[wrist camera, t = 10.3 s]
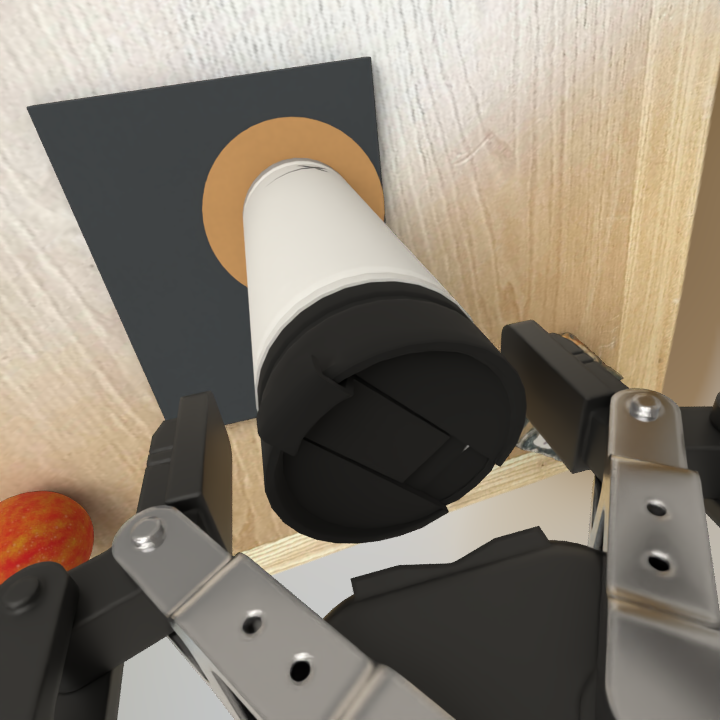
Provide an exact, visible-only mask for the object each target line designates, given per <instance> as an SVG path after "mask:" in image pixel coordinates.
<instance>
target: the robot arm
mask: <svg viewBox="0 0 720 720" xmlns="http://www.w3.org/2000/svg"><path fill="white" fill-rule="evenodd" d="M501 354H502V355H503V356H504V357H505V358H506V359H507V361H508V362H509V363H510V364H511V365H512V366H513V367H514V368H515V369H516V371H517V372H518V374H519V376H520V378H521V381H522V383H523V385H524V387H525V394H526V402H527V409H526V418H527V419H528V420H529V421H530V423H531V424H532V425H533V426H534V428H535V429H536V430H537V431H538V432H539V434H540V435H541V436H542V437H543V439H544V440H545V441H546V442H547V443H548V445H549V446H550V447H551V448H552V450H553V451H554V452H555V453H556V454H557V456H558V457H559V458H560V459H561V461H562V462H563V463H564V464H565V465H566V467H567V468H568V469H569V470H570V472H572V474H574V473H577V472H581V471H585V470H589V469H590V470H592V472H593V473H594V474H595V476H594V480H593V487H592V499H591V512H590V524H589V537H588V546H585V545H581V544H578V543H572V542H567V541H557V540H548V539H547V537H546V536H545V534H544V533H543V531H542V530H541V528H540V527H539V526H537V527H533V528H530V529H526V530H523V531H519V532H515V533H512V534H509V535H505V536H501V537H498V538H494V539H493V540H491V541H490V542H488V543H486V544H484V545H482V546H481V547H479V548H477V549H476V550H474V551H472V552H471V553H469V554H467V555H466V556H464V557H462V558H461V559H459V560H457V561H455V562H453V563H447V564H419V565H398V566H394V567H390V568H387V569H383V570H380V571H376V572H373V573H369V574H365V575H362V576H358V577H355V578H351V582H352V587H353V591H354V594H353V595H352V596H350V597H348V598H347V599H345V600H344V601H342V602H341V603H340V604H338V605H337V606H336V607H335V608H333V609H332V610H331V611H330V612H329V613H328V614H327V615H326V616H325V617H324V618H323V619H322V618H321V617H320V616H319V615H318V614H316V613H315V612H314V611H313V610H311V609H310V608H309V607H308V606H307V605H306V604H304V603H303V602H302V601H301V600H300V599H298V598H297V597H296V596H295V595H293V594H292V593H291V592H290V591H289V590H288V589H286V588H285V587H284V586H283V585H282V584H280V583H279V582H278V581H277V580H276V579H274V578H273V577H272V576H271V575H270V574H268V573H267V572H266V571H265V570H264V569H262V568H261V567H260V566H259V565H258V564H256V563H255V562H254V561H253V560H252V559H250V558H249V557H248V556H246V555H245V554H243V553H240V552H239V553H237V554H236V555H235V556H232V451H231V445H230V441H229V437H228V434H227V431H226V428H225V426H224V423H223V420H222V417H221V414H220V412H219V409H218V406H217V403H216V401H215V398H214V395H213V393H212V392H211V391H206V392H201V393H197V394H192V395H188V396H183V397H181V398H180V402H179V409H178V415H177V418H174V419H170V420H165V421H163V422H162V424H161V425H160V427H159V428H158V429H157V431H156V432H155V433H154V435H153V436H152V441H151V445H150V450H149V453H150V455H148V460H147V468H146V469H145V474H144V479H143V484H142V488H141V493H140V498H139V503H138V507H137V512H136V514H135V515H134V516H132V517H131V518H130V519H129V520H127V521H126V522H125V523H124V524H123V525H122V526H121V528H120V529H119V530H118V532H117V533H116V535H115V537H114V540H113V543H112V547H111V548H109V549H108V550H107V551H105V552H103V553H101V554H100V555H98V556H96V557H94V558H92V559H90V560H88V561H86V562H84V563H82V564H80V565H79V566H77V567H75V568H73V569H71V570H69V571H66V570H65V568H64V567H63V566H62V565H61V564H59V563H57V562H52V561H46V562H39V563H35V564H33V565H30V566H27V567H25V568H23V569H21V570H20V571H18V572H16V573H15V574H13V575H12V576H11V577H9V578H8V579H7V580H5V581H4V582H3V583H2V584H1V585H0V720H117V715H118V707H119V699H120V690H121V683H122V674H123V666H124V662H125V661H127V660H128V659H130V658H132V657H133V656H135V655H136V654H138V653H140V652H141V651H143V650H144V649H146V648H148V647H150V646H151V645H153V644H154V643H156V642H158V641H159V640H161V639H163V638H164V637H167V638H168V639H169V640H170V641H171V642H172V644H174V646H175V647H176V648H177V649H178V651H179V652H180V653H181V654H182V655H183V656H184V657H185V659H186V660H187V661H188V662H189V664H190V665H191V666H192V667H193V668H194V669H195V671H196V672H197V673H198V674H199V675H200V676H201V677H202V679H203V680H204V681H205V682H206V683H207V685H208V686H209V687H210V688H211V689H212V691H213V692H214V693H215V694H216V696H217V697H218V698H219V699H220V701H221V702H222V703H223V705H224V706H225V707H226V709H227V710H228V712H229V713H230V714H231V715H232V717H233V718H234V719H235V720H720V611H719V604H718V597H717V590H716V583H715V576H714V569H713V562H712V557H711V549H710V542H709V535H708V528H707V521H706V514H707V515H708V516H709V517H710V518H711V519H712V520H713V521H714V522H715V523H716V524H717V525H718V526H719V527H720V392H719V393H718V395H717V397H716V399H715V402H714V405H713V407H678V405H677V404H676V403H675V402H674V401H673V400H671V399H670V398H668V397H666V396H665V395H663V394H660V393H658V392H655V391H651V390H647V389H639V388H632V389H629V388H628V387H627V386H626V385H624V384H623V383H622V382H621V381H620V380H618V379H617V378H616V377H615V376H614V375H612V374H611V373H610V372H609V371H608V370H606V369H605V368H604V367H603V366H602V365H600V364H599V363H598V362H597V361H594V359H593V358H592V357H591V356H590V355H588V354H587V353H584V350H582V349H581V348H580V347H579V346H578V345H576V344H575V343H574V342H573V341H572V340H570V339H567V338H565V337H563V336H560V335H558V334H555V333H550V334H549V333H548V332H547V331H545V330H544V329H543V328H542V327H541V326H540V325H539V324H537V323H536V322H535V321H534V320H527V321H523V322H518V323H514V324H509V325H505V326H504V327H503V329H502V336H501ZM705 513H706V514H705Z"/></svg>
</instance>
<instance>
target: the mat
mask: <svg viewBox="0 0 720 720" xmlns="http://www.w3.org/2000/svg"><path fill="white" fill-rule="evenodd" d="M27 110H28V112H29V115H30V117H31V119H32V121H33V124H34V126H35V128H36V130H37V132H38V135H39V137H40V139H41V141H42V144H43V146H44V148H45V150H46V153H47V155H48V157H49V159H50V162H51V164H52V166H53V168H54V171H55V173H56V175H57V177H58V180H59V182H60V184H61V186H62V189H63V191H64V193H65V195H66V198H67V200H68V202H69V204H70V207H71V209H72V211H73V213H74V216H75V218H76V220H77V222H78V225H79V227H80V229H81V231H82V234H83V236H84V238H85V240H86V243H87V245H88V247H89V249H90V252H91V254H92V256H93V258H94V261H95V263H96V265H97V267H98V270H99V272H100V274H101V276H102V279H103V281H104V283H105V285H106V288H107V290H108V292H109V294H110V297H111V299H112V301H113V303H114V306H115V308H116V310H117V312H118V314H119V317H120V319H121V321H122V323H123V326H124V328H125V330H126V332H127V335H128V337H129V339H130V341H131V344H132V346H133V348H134V350H135V353H136V355H137V357H138V359H139V362H140V364H141V366H142V368H143V371H144V373H145V375H146V377H147V380H148V382H149V384H150V386H151V389H152V391H153V393H154V395H155V398H156V400H157V402H158V404H159V407H160V409H161V411H162V413H163V416H164V418H165V420H170V419H174V418H177V415H178V409H179V402H180V398H181V397H183V396H188V395H192V394H197V393H201V392H206V391H211V392H212V393H213V395H214V398H215V401H216V403H217V406H218V409H219V412H220V414H221V417H222V420H223V423H224V425H227V424H231V423H236V422H240V421H244V420H248V419H253V418H257V417H256V415H257V413H258V411H257V408H256V398H255V384H254V370H253V355H252V341H251V327H250V312H249V298H248V284H247V269H246V255H245V241H244V226H243V206H244V201H245V198H246V195H247V192H248V190H249V188H250V186H251V185H252V183H253V181H254V180H255V179H256V178H257V177H258V176H259V174H260V173H261V172H262V171H264V170H265V169H267V168H268V167H269V166H271V165H272V164H275V163H277V162H279V161H282V160H286V159H291V158H309V159H313V160H317V161H320V162H322V163H324V164H326V165H328V166H330V167H331V168H333V169H334V170H335V171H337V172H338V173H339V174H340V175H341V176H342V177H343V179H344V180H345V181H346V182H347V183H348V184H349V185H350V186H351V187H352V188H353V189H354V190H355V191H356V193H357V194H358V195H359V196H360V197H361V198H362V199H363V200H364V201H365V202H366V203H367V205H368V206H369V207H370V208H371V209H372V210H373V211H374V212H375V213H376V214H377V215H378V216H379V218H380V219H381V220H382V221H383V222H384V223H385V211H384V197H383V189H382V178H381V166H380V155H379V144H378V133H377V122H376V110H375V99H374V88H373V77H372V66H371V57H361V58H355V59H348V60H341V61H334V62H327V63H320V64H313V65H307V66H300V67H293V68H286V69H279V70H272V71H265V72H259V73H252V74H245V75H238V76H231V77H224V78H217V79H211V80H204V81H197V82H190V83H183V84H176V85H170V86H163V87H156V88H149V89H142V90H135V91H128V92H122V93H115V94H108V95H101V96H94V97H87V98H80V99H74V100H67V101H60V102H53V103H46V104H39V105H33V106H28V107H27ZM385 224H386V223H385Z"/></svg>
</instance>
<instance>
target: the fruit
mask: <svg viewBox="0 0 720 720" xmlns="http://www.w3.org/2000/svg"><path fill="white" fill-rule="evenodd" d="M93 542H94V531H93V525H92V522H91V519H90V517H89V515H88V513H87V512H86V511H85V509H84V508H83V507H82V506H81V505H80V504H78V503H77V502H76V501H74V500H72V499H71V498H69V497H67V496H65V495H62V494H59V493H56V492H51V491H35V492H28V493H23V494H19V495H16V496H13V497H10V498H8V499H6V500H4V501H2V502H0V585H1V584H2V583H3V582H4V581H5V580H7V579H8V578H9V577H11V576H12V575H13V574H15V573H16V572H18V571H20V570H21V569H23V568H25V567H27V566H30V565H33V564H35V563H39V562H46V561H52V562H57V563H59V564H61V565H62V566H63V567H64V568H65V570H66V571H69V570H71V569H73V568H75V567H77V566H79V565H80V564H82V563H84V562H86V561H88V560H89V558H90V555H91V552H92V547H93Z"/></svg>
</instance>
